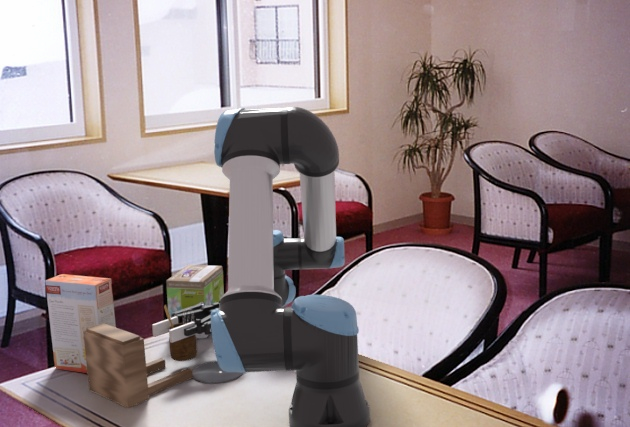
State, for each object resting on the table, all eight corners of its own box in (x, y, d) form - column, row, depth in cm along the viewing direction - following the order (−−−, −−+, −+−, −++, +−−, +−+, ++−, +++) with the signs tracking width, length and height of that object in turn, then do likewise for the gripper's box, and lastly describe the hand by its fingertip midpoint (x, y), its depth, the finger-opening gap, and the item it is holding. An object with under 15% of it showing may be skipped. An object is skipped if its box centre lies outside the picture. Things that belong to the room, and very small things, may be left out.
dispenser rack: (197, 379, 174) (192, 318, 171) (128, 408, 161) (122, 343, 158) (157, 364, 183) (152, 306, 180) (89, 390, 170) (82, 328, 168)
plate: (254, 370, 177) (253, 368, 177) (215, 387, 169) (215, 385, 169) (220, 359, 184) (220, 356, 184) (182, 375, 176) (181, 372, 176)
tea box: (207, 339, 197) (203, 280, 194) (168, 338, 199) (163, 280, 196) (226, 318, 211) (222, 264, 208) (189, 317, 213) (185, 263, 210)
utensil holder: (195, 361, 177) (191, 308, 174) (167, 362, 177) (162, 310, 174) (199, 351, 183) (195, 299, 180) (171, 352, 183) (166, 301, 180)
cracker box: (121, 367, 182) (112, 277, 178) (103, 377, 177) (94, 285, 172) (72, 359, 188) (62, 272, 184) (54, 369, 183) (43, 279, 178)
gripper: (269, 328, 186) (190, 359, 169) (216, 312, 198) (138, 341, 181) (267, 296, 184) (187, 325, 168) (214, 283, 196) (135, 309, 180)
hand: (162, 333), depth 174 cm, fingers closed on utensil holder, 5 cm apart
